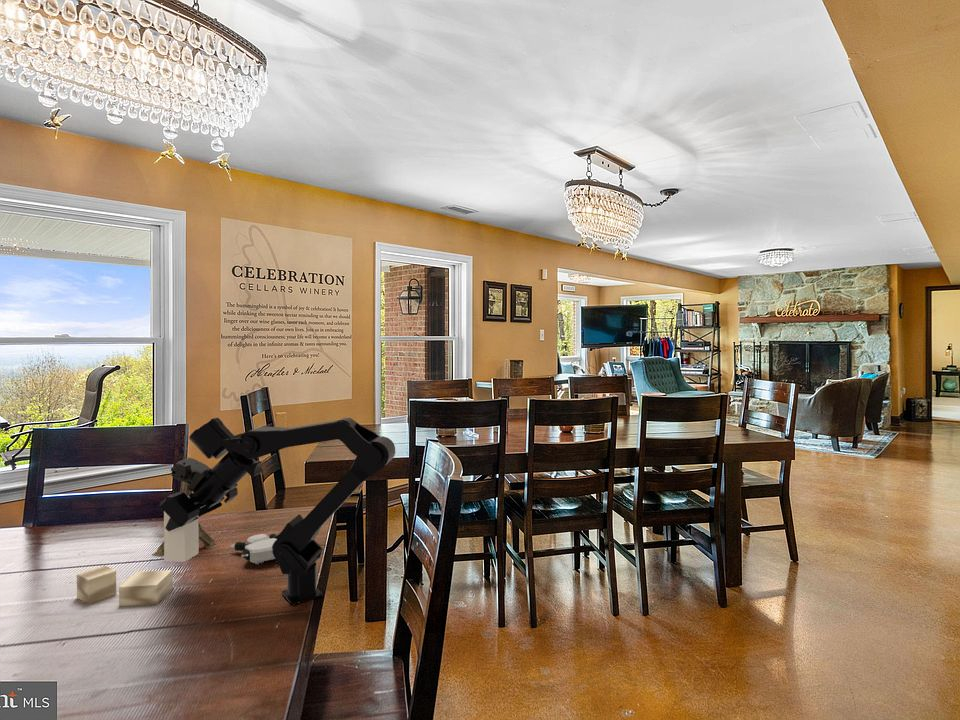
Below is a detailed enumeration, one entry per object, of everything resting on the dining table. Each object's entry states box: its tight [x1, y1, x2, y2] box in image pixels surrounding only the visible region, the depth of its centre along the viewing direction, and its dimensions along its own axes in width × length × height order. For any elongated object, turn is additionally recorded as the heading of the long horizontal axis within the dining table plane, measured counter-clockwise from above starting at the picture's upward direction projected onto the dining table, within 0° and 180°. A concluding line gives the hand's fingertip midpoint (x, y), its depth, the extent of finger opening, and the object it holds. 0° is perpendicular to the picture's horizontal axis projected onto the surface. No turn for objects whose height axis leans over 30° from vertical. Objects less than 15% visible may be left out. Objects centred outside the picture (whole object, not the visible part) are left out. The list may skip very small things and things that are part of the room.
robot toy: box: [230, 533, 277, 565], centre depth 128 cm, size 12×4×15 cm
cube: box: [76, 565, 117, 605], centre depth 107 cm, size 5×5×5 cm
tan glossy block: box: [118, 569, 174, 607], centre depth 107 cm, size 7×7×4 cm
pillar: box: [163, 510, 200, 563], centre depth 109 cm, size 4×4×12 cm
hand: (175, 525), depth 109 cm, fingers closed on pillar, 4 cm apart
